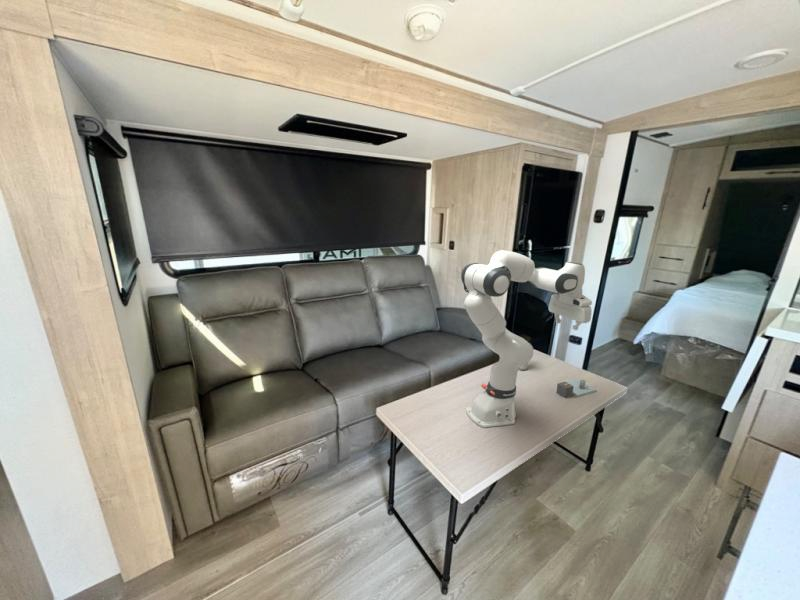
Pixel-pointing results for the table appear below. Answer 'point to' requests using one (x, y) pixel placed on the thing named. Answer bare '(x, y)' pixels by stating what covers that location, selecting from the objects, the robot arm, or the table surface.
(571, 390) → the dark brown block
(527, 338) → the travel mug
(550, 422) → the table surface
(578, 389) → the hub plate
